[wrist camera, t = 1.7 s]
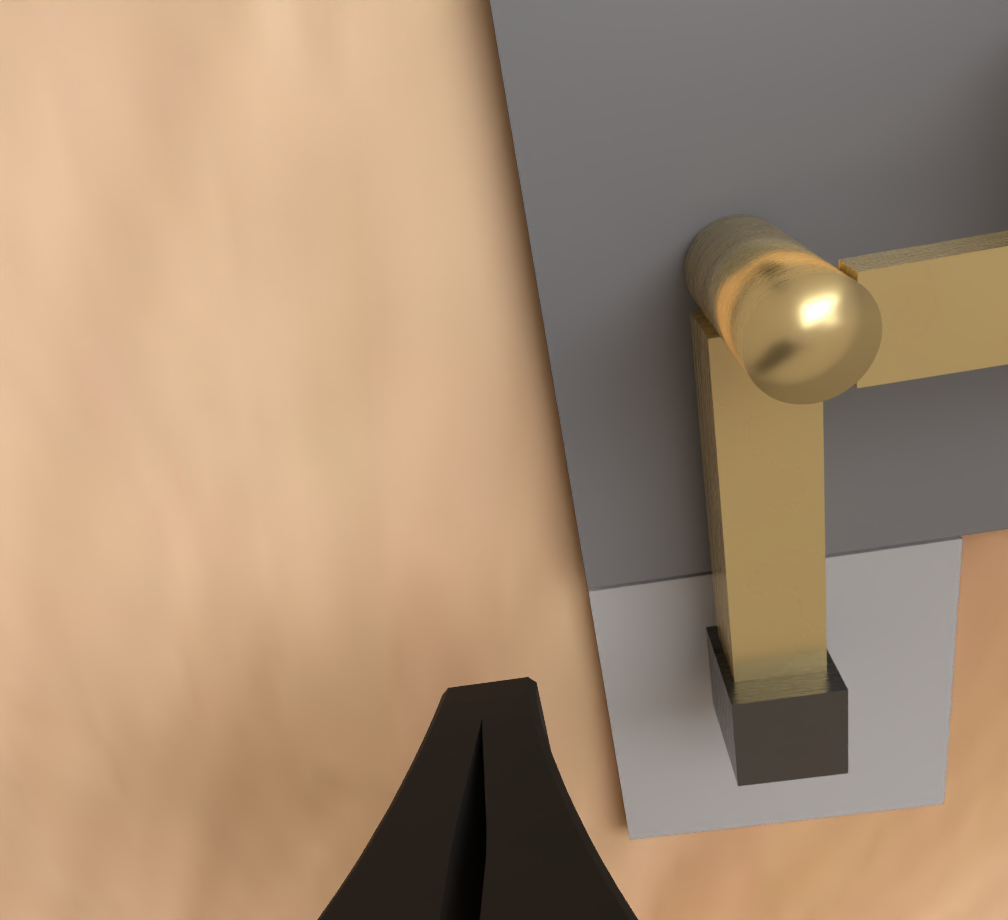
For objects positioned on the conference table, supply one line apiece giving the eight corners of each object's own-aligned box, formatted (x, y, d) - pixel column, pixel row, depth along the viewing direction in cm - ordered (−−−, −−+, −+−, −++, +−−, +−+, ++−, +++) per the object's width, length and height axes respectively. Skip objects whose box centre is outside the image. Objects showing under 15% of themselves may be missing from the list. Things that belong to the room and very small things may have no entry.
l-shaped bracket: (1267, 117, 13) (1559, 143, 10) (1158, 646, 18) (1326, 802, 14) (668, 226, 14) (723, 288, 11) (712, 703, 19) (761, 864, 15)
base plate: (1568, -277, 12) (1635, -298, 11) (1350, 457, 17) (1387, 474, 16) (483, -44, 13) (481, -49, 13) (584, 568, 19) (587, 588, 18)
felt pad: (951, 526, 18) (962, 538, 18) (935, 788, 22) (943, 804, 21) (586, 578, 19) (588, 592, 18) (627, 824, 22) (629, 840, 22)
